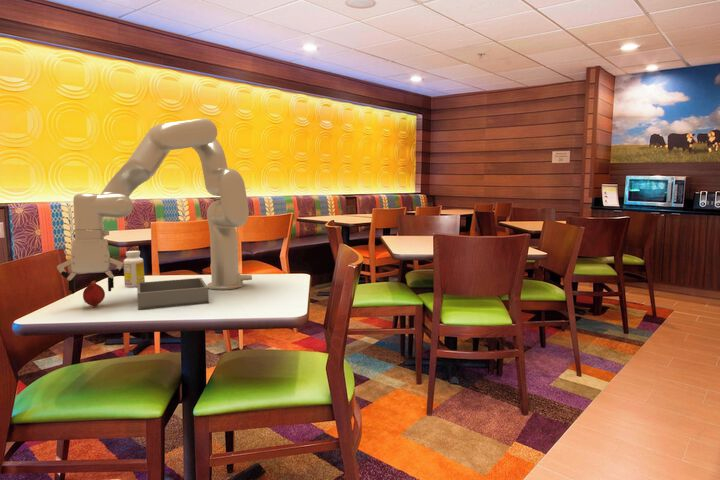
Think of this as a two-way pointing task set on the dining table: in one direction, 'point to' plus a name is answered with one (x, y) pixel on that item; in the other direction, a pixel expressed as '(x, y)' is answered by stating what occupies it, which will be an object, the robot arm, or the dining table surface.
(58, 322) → the dining table surface
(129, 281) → the supplement bottle
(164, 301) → the bin
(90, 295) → the onion
